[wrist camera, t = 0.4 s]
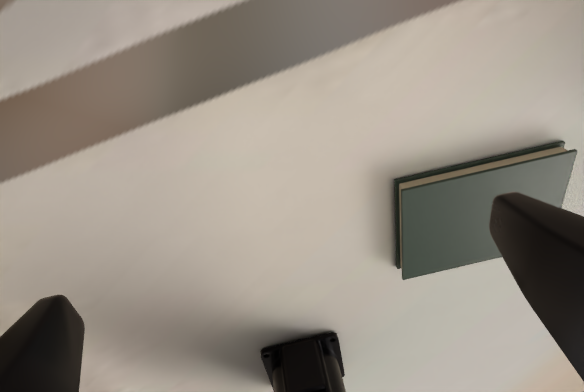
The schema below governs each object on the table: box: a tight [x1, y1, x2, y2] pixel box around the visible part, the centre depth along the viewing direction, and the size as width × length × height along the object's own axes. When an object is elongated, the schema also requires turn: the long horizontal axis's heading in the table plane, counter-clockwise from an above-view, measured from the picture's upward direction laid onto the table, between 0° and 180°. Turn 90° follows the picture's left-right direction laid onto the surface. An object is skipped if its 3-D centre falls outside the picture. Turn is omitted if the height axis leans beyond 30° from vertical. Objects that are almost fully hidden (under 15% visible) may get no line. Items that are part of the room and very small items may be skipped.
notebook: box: [394, 141, 577, 280], centre depth 28 cm, size 8×11×1 cm
